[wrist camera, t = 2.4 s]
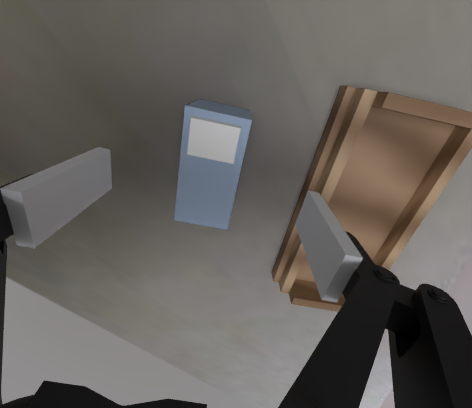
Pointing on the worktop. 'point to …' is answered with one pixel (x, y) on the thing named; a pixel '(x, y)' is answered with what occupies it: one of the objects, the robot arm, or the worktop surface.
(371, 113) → the wooden tray
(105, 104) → the worktop surface
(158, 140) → the worktop surface
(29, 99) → the worktop surface
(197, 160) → the blue block with label
